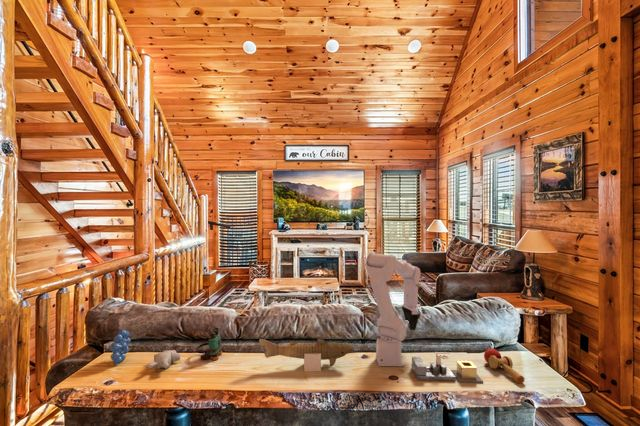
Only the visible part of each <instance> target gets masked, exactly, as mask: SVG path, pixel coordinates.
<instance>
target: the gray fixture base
mask: <svg viewBox="0 0 640 426" xmlns="http://www.w3.org/2000/svg"><path fill="white" fill-rule="evenodd" d="M410 366H411V370H412V373H413V375H414V376H415V378H416V380H417V381H428V382H429V381H430V382H431V381H435V382H438V381H439V382H440V381H441V382H456V380H457V379H456V377H455V375H454V374H453V373H452V371H451V370H452V369H450V367H449V366H448V365H447V364H445V363H444V362H442V357H441V355H439V354H435V362H429V364H425V363H424V361H423V360H422V358H421V356H411V365H410Z"/></svg>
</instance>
